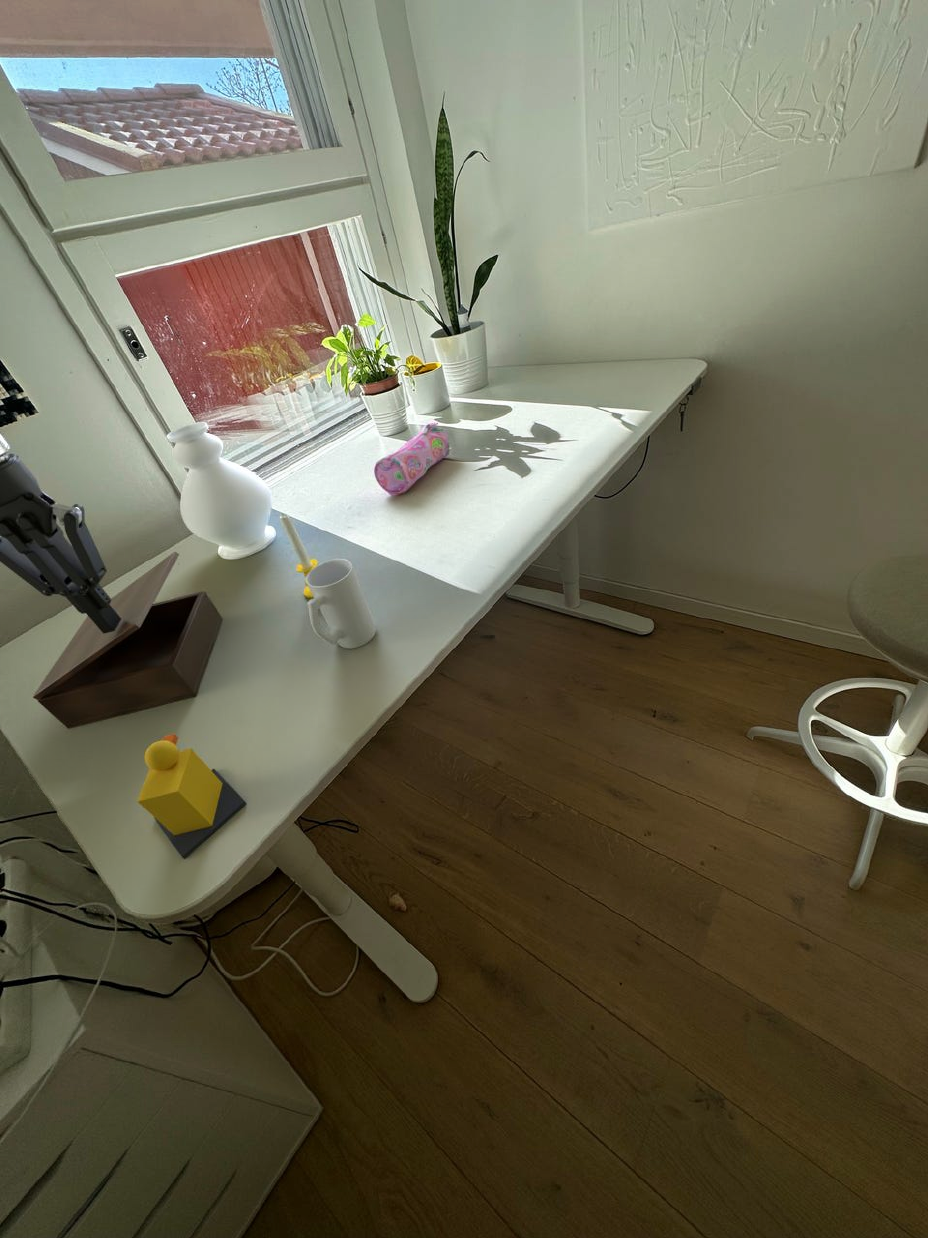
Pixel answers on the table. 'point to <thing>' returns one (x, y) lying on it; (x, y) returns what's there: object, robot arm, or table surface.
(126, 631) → the lid
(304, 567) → the candle
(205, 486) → the decorative vase
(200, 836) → the coaster
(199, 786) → the duck
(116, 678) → the chest
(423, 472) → the pencil case
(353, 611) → the mug
